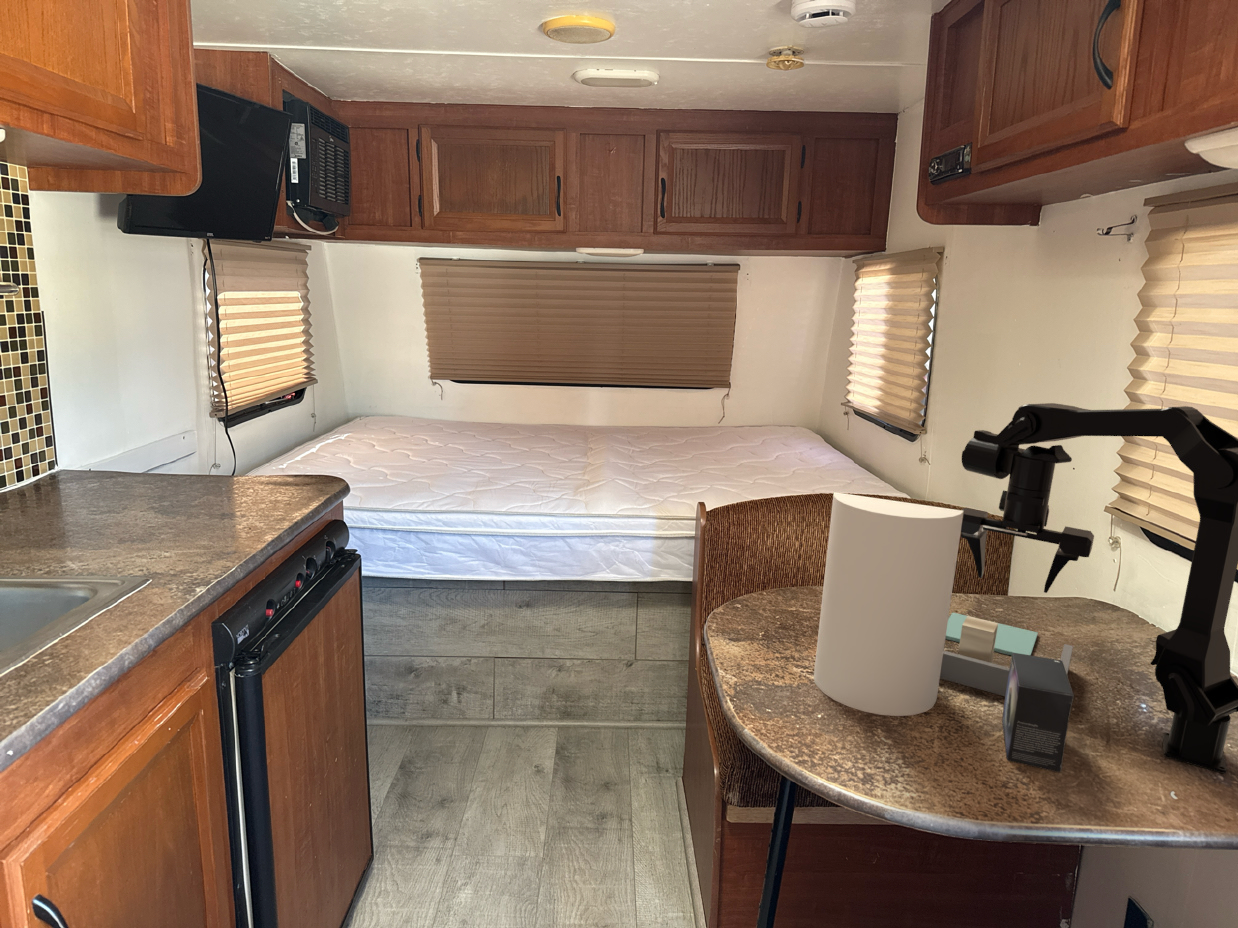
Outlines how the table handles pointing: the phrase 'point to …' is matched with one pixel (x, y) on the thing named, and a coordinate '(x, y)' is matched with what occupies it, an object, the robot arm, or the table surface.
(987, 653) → the cream block
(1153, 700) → the table surface
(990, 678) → the grey l-shaped bracket
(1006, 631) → the teal mat
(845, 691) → the cylinder
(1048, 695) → the small box
